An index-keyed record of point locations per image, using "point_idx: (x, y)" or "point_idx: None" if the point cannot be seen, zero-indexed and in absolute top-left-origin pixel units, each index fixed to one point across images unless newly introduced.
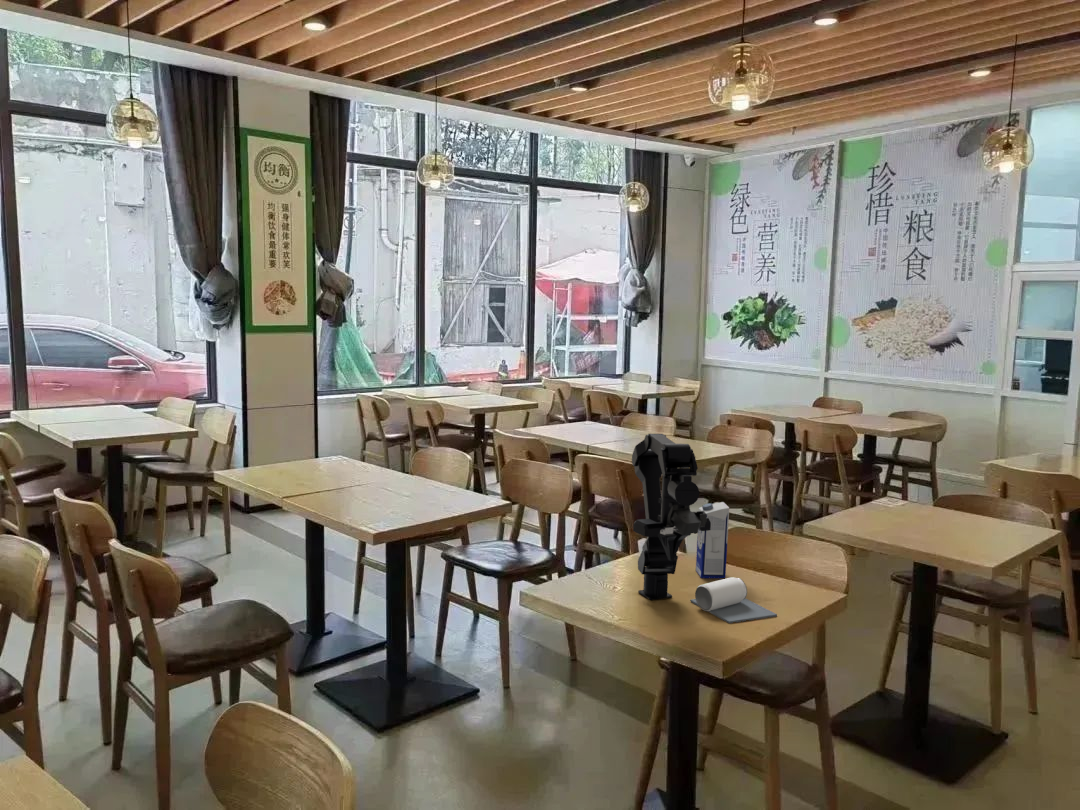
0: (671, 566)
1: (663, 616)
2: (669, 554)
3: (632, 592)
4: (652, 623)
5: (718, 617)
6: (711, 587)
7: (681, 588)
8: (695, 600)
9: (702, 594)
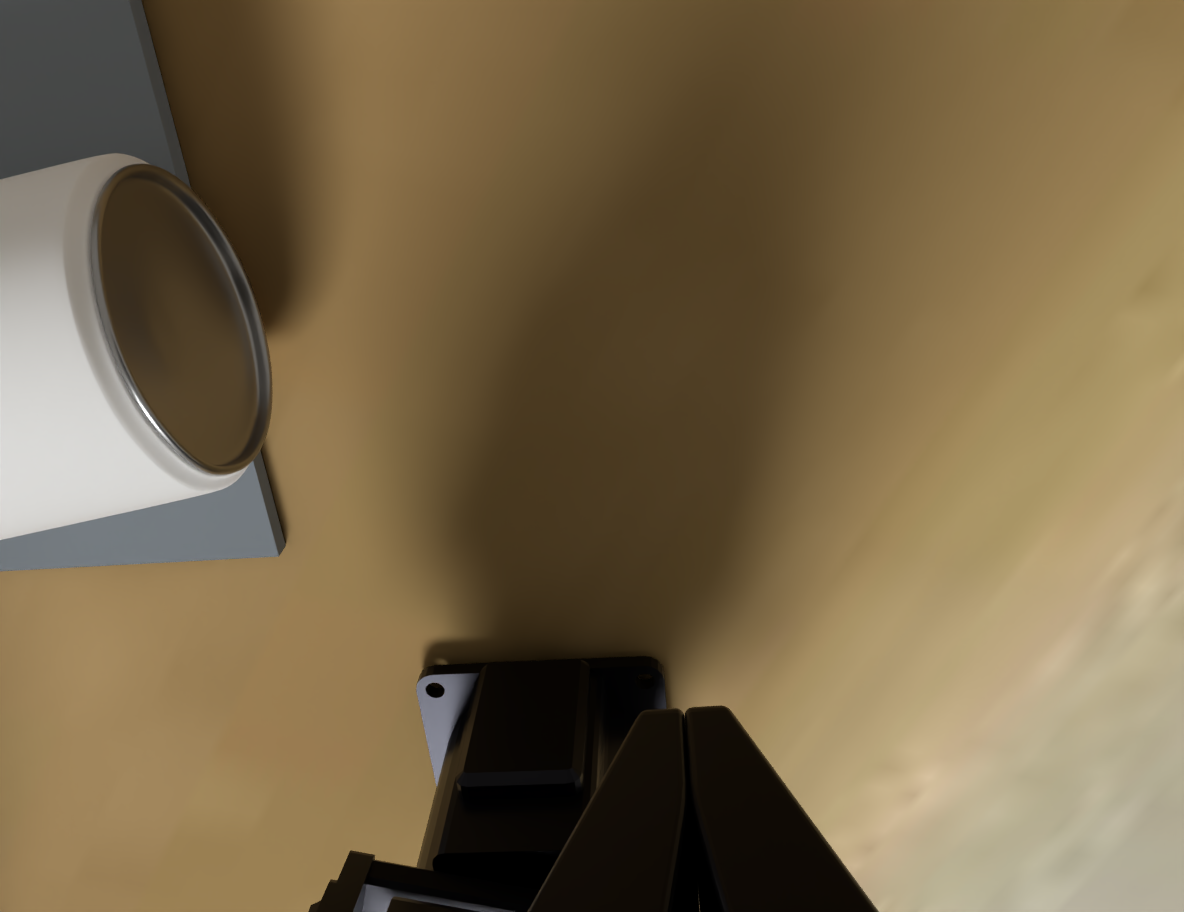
0: (402, 905)
1: (768, 242)
2: (802, 835)
3: None
4: (1025, 64)
5: (148, 29)
6: (17, 310)
7: (239, 826)
8: (235, 522)
9: (178, 386)
